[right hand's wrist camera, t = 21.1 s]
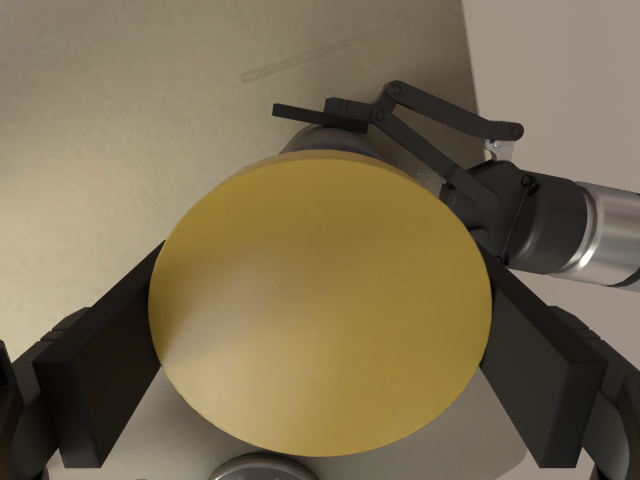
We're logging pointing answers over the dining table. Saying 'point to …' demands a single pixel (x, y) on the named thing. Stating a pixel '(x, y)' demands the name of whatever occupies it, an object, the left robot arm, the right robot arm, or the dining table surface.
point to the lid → (320, 304)
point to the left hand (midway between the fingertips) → (266, 173)
